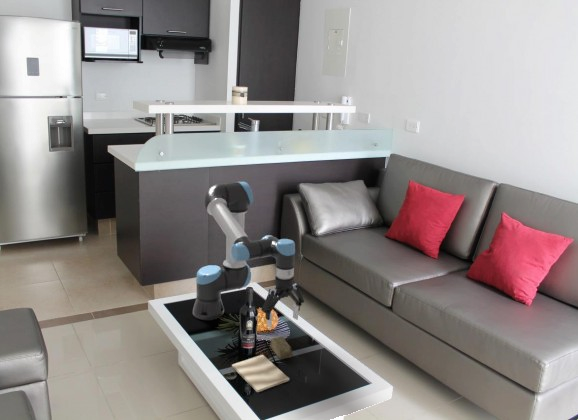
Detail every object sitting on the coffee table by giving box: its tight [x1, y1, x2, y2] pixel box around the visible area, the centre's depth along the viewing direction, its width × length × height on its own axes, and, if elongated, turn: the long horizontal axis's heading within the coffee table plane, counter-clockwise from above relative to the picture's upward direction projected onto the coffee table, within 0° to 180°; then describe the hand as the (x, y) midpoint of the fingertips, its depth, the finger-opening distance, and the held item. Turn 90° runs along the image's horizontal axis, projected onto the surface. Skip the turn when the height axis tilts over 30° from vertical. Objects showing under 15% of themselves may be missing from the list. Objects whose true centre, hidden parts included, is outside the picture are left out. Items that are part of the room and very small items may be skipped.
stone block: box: [269, 336, 293, 360], centre depth 238 cm, size 6×12×5 cm, turn 26°
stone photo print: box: [231, 354, 290, 393], centre depth 222 cm, size 20×15×1 cm
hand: (282, 322), depth 234 cm, fingers open, 13 cm apart
